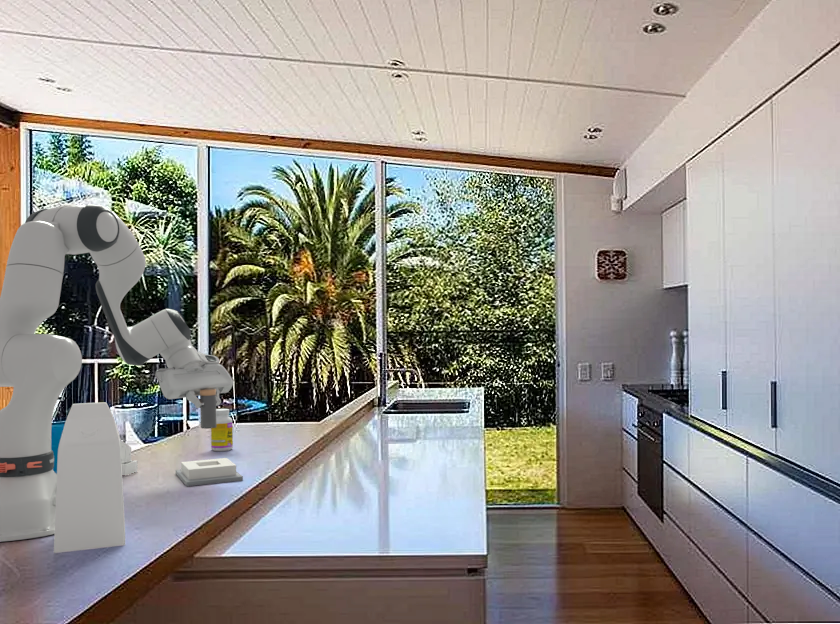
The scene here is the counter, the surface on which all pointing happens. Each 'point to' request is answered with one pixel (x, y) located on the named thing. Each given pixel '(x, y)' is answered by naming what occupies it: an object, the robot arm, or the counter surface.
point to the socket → (208, 472)
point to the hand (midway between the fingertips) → (209, 405)
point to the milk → (89, 481)
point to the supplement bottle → (222, 431)
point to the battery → (208, 408)
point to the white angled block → (127, 460)
